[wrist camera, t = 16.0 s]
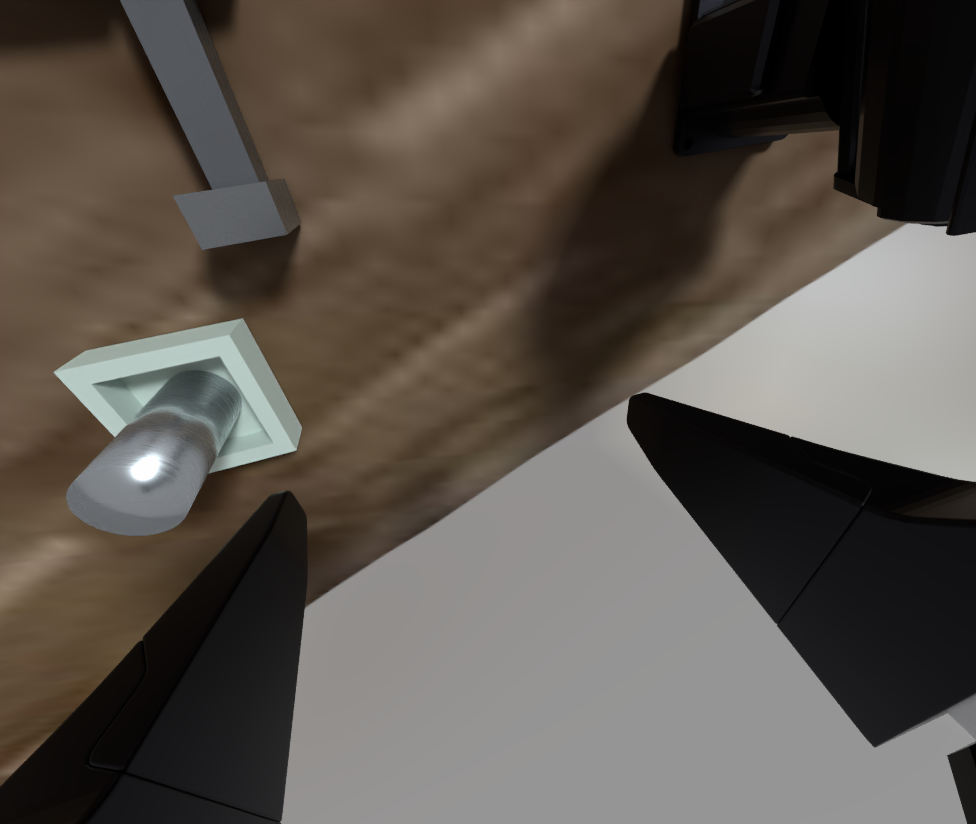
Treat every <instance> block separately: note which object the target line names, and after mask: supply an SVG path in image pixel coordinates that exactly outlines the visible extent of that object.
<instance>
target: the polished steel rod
mask: <svg viewBox="0 0 976 824" xmlns="http://www.w3.org/2000/svg"><path fill="white" fill-rule="evenodd" d="M241 409H242V399H241V396H240V394H239V392H238V390H237V389H236V388H235V387H234V385H233V384H231V383H230V382H229V381H228V380H226V379H224V378H223V377H221V376H219V375H216V374H214V373H211V372H206V371H199V370H191V371H184V372H181V373H178V374H176V375H174V376H172V377H171V378H170V379H169V380H168V381H167V382H166V383H165V384H164V385H163V386H162V387H161V389H160V390H159V391H158V392H157V393H156V394H155V395H154V396H153V397H152V398H151V399H150V400H149V401H148V402H147V404H146V405H145V406H144V407H143V408H142V409H141V410H140V411H139V412H138V413H137V414H136V415H135V416H134V417H133V419H132V420H131V421H130V422H129V423H128V424H127V425H126V426H125V427H124V428H123V429H122V430H121V431H120V432H119V434H118V435H117V436H116V437H115V438H114V439H113V440H112V441H111V442H110V443H109V444H108V445H107V446H106V447H105V449H104V450H103V451H102V452H101V453H100V454H99V455H98V456H97V457H96V458H95V459H94V460H93V461H92V462H91V464H90V465H89V466H88V467H87V468H86V469H85V470H84V471H83V472H82V473H81V474H80V475H79V476H78V477H77V479H76V480H75V481H74V482H73V483H72V484H71V485H70V487H69V489H68V491H67V495H66V499H67V503H68V506H69V508H70V509H71V511H72V512H73V513H74V514H75V515H76V516H77V517H78V518H79V519H81V520H82V521H83V522H85V523H87V524H89V525H90V526H93V527H95V528H97V529H100V530H103V531H106V532H110V533H114V534H120V535H130V536H143V535H152V534H158V533H162V532H165V531H168V530H170V529H172V528H174V527H176V526H177V525H178V524H180V523H181V522H182V521H183V520H184V519H185V517H186V515H187V514H188V512H189V510H190V508H191V506H192V504H193V502H194V500H195V498H196V496H197V494H198V492H199V490H200V489H201V487H202V485H203V483H204V481H205V479H206V477H207V475H208V473H209V471H210V469H211V467H212V465H213V463H214V462H215V460H216V458H217V456H218V454H219V452H220V450H221V448H222V446H223V444H224V442H225V440H226V438H227V437H228V435H229V433H230V431H231V429H232V427H233V425H234V423H235V421H236V419H237V417H238V415H239V413H240V411H241Z"/></svg>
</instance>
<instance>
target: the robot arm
mask: <svg viewBox="0 0 976 824" xmlns="http://www.w3.org/2000/svg"><path fill="white" fill-rule="evenodd" d="M835 130H839V146H838V168H837V172H836V173H835V174H834V187H833V188H834V189H835V190H837V191H840V192H842V193H844V194H847V195H849V196H851V197H854V198H856V199H859V200H861V201H863V202H866V203H868V204H870V205H872V206H874V207H877V216H878V217H880V218H883V219H886V220H891V221H897V222H903V223H914V224H915V223H917V224H922V225H932V226H947V230H946V234H947V235H952V236H955V235H962V234H967V233H973V232H976V0H694V1H693V9H692V16H691V23H690V30H689V36H688V43H687V50H686V57H685V64H684V72H683V79H682V86H681V93H680V100H679V109H678V116H677V123H676V130H675V138H674V145H673V151H674V153H675V155H677V156H690V155H696V154H702V153H708V152H713V151H719V150H725V149H731V148H737V147H742V146H748V145H754V144H760V143H765V142H771V141H777V140H781V139H784V138H785V137H786V136H787V135H788V134H795V133H809V132H822V131H835ZM686 139H687V145H686V147H685V148H683V144H684V141H685V140H686ZM627 424H628V427H629V429H630V431H631V433H632V434H633V436H634V437H635V439H636V440H637V442H638V444H639V445H640V447H641V448H642V450H643V452H644V453H645V455H646V457H647V458H648V460H649V461H650V463H651V465H652V466H653V468H654V469H655V470H656V472H657V473H658V474H659V476H660V477H661V479H662V480H663V481H664V482H665V484H666V485H667V486H668V488H669V489H670V490H671V491H672V492H673V494H674V495H675V496H676V498H677V499H678V500H679V501H680V503H681V504H682V505H683V507H684V508H685V509H686V510H687V512H688V513H689V514H690V515H691V517H692V518H693V519H694V520H695V522H696V523H697V524H698V526H699V527H700V528H701V529H702V531H703V532H704V533H705V535H706V536H707V537H708V538H709V540H710V541H711V542H712V543H713V545H714V546H715V547H716V549H717V550H718V551H719V552H720V554H721V555H722V556H723V557H724V559H725V560H726V561H727V562H728V564H729V565H730V566H731V567H732V568H733V570H734V571H735V573H736V574H737V575H738V576H739V578H740V579H741V580H742V582H743V583H744V584H745V585H746V586H747V588H748V589H749V590H750V592H751V593H752V594H753V596H754V597H755V598H756V599H757V601H758V602H759V603H760V604H761V606H762V607H763V608H764V609H765V611H766V612H767V613H768V615H769V616H770V617H771V618H772V619H773V621H774V622H775V623H776V624H777V626H778V628H779V629H780V630H781V631H782V633H783V634H784V635H785V637H786V638H787V639H788V640H789V641H790V643H791V644H792V645H793V647H794V648H795V649H796V650H797V652H798V653H799V654H800V655H801V657H802V658H803V659H804V661H805V662H806V663H807V664H808V666H809V667H810V668H811V670H812V671H813V672H814V673H815V675H816V676H817V677H818V678H819V680H820V681H821V682H822V683H823V685H824V686H825V687H826V689H827V690H828V691H829V692H830V693H831V695H832V696H833V697H834V699H835V700H836V701H837V703H838V704H839V705H840V706H841V707H842V709H843V710H844V711H845V713H846V714H847V715H848V717H849V718H850V719H851V720H852V722H853V723H854V724H855V725H856V727H857V728H858V729H859V730H860V732H861V733H862V734H863V735H864V737H865V738H866V739H867V740H868V741H869V742H870V743H871V744H872V746H873V747H878V746H880V745H882V744H884V743H886V742H888V741H890V740H892V739H894V738H897V737H899V736H901V735H903V734H905V733H907V732H909V731H911V730H913V729H915V728H918V727H919V726H922V725H924V724H926V723H928V722H930V721H932V720H934V719H936V718H938V717H940V716H943V715H944V714H947V713H948V714H949V715H950V716H951V717H952V718H953V719H954V720H955V721H956V722H958V723H959V724H960V725H961V726H962V727H963V728H964V729H965V730H966V731H967V732H968V733H969V734H970V735H971V736H972V737H973V738H974V739H976V482H971V481H964V480H957V479H953V478H949V477H944V476H940V475H936V474H932V473H928V472H923V471H920V470H916V469H912V468H908V467H903V466H900V465H896V464H892V463H887V462H883V461H880V460H876V459H871V458H867V457H864V456H860V455H856V454H852V453H848V452H844V451H841V450H837V449H833V448H830V447H826V446H823V445H819V444H815V443H812V442H809V441H806V440H802V439H799V438H795V437H789V436H788V435H786V434H782V433H779V432H776V431H772V430H769V429H766V428H762V427H759V426H756V425H752V424H749V423H746V422H742V421H739V420H736V419H732V418H729V417H726V416H722V415H719V414H716V413H712V412H709V411H706V410H702V409H699V408H696V407H692V406H689V405H686V404H682V403H679V402H676V401H673V400H669V399H666V398H663V397H659V396H656V395H653V394H649V393H640V394H637V395H633V396H631V397H630V399H629V405H628V413H627ZM307 576H308V563H307V518H306V514H305V512H304V510H303V509H302V507H301V506H300V504H299V502H298V501H297V499H296V498H295V496H294V495H293V493H292V492H290V491H282V492H279V493H275V494H272V495H270V496H269V497H268V498H267V499H266V500H265V501H264V502H263V504H262V505H261V506H260V507H259V508H258V509H257V510H256V511H255V512H254V514H253V515H252V516H251V517H250V518H249V519H248V520H247V521H246V523H245V524H244V525H243V526H242V527H241V528H240V529H239V530H238V531H237V533H236V534H235V535H234V536H233V537H232V538H231V539H230V540H229V542H228V543H227V544H226V545H225V546H224V547H223V548H222V549H221V550H220V552H219V553H218V554H217V555H216V556H215V557H214V558H213V559H212V560H211V562H210V563H209V564H208V565H207V566H206V567H205V568H204V569H203V571H202V572H201V573H200V574H199V575H198V576H197V577H196V578H195V579H194V581H193V582H192V583H191V584H190V585H189V586H188V587H187V588H186V590H185V591H184V592H183V593H182V594H181V595H180V596H179V597H178V598H177V600H176V601H175V602H174V603H173V604H172V605H171V606H170V607H169V608H168V610H167V611H166V612H165V613H164V614H163V615H162V616H161V617H160V618H159V620H158V621H157V622H156V623H155V624H154V625H153V626H152V627H151V629H150V630H149V631H148V632H147V633H146V634H145V635H144V636H143V641H139V642H138V643H137V644H136V645H135V646H134V647H133V648H132V650H131V651H130V652H129V653H128V654H127V655H126V656H125V657H124V659H123V660H122V661H121V662H120V663H119V664H118V665H117V666H116V667H115V668H114V669H113V671H112V672H111V673H110V674H109V675H108V676H107V677H106V678H105V679H104V680H103V681H102V682H101V684H100V685H99V686H98V687H97V688H96V689H95V690H94V691H93V692H92V693H91V694H90V695H89V696H88V698H87V699H86V700H85V701H84V702H83V703H82V704H81V705H80V706H79V707H78V708H77V709H76V710H75V711H74V712H73V713H72V714H71V715H70V716H69V717H68V718H67V719H66V720H65V721H64V722H63V723H62V724H61V725H60V726H59V727H58V728H57V730H56V731H55V732H54V733H53V734H52V735H51V736H50V737H49V738H48V739H47V740H46V741H45V742H44V743H43V744H42V745H41V746H40V747H39V748H38V749H37V750H36V751H35V752H34V753H33V754H32V755H31V756H30V757H29V758H28V759H27V760H26V761H25V762H24V763H23V764H22V765H21V766H20V767H19V768H18V769H17V770H16V771H15V772H14V773H13V774H12V775H11V776H10V777H9V778H8V779H7V780H6V781H5V782H4V783H3V784H2V785H1V786H0V824H281V823H280V821H281V820H282V813H283V804H284V794H285V784H286V776H287V766H288V757H289V748H290V739H291V730H292V720H293V710H294V701H295V692H296V683H297V674H298V665H299V655H300V646H301V637H302V628H303V618H304V609H305V600H306V591H307ZM947 756H948V760H949V763H950V766H951V770H952V773H953V776H954V780H955V783H956V787H957V790H958V794H959V797H960V801H961V804H962V807H963V811H964V814H965V818H966V820H967V824H976V741H975V742H973V743H971V744H969V745H967V746H965V747H963V748H961V749H959V750H957V751H955V752H953V753H951V754H949V755H947Z"/></svg>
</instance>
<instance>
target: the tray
mask: <svg viewBox="0 0 976 824" xmlns="http://www.w3.org/2000/svg"><path fill="white" fill-rule="evenodd" d="M191 370H199V371H206V372H211V373H214V374H216V375H219V376H221V377H223V378H224V379H226V380H228V381H229V382H230V383H231V384H233V385H234V387H235V388H236V389H237V390H238V392H239V394H240V396H241V399H242V409H241V411H240V413H239V415H238V417H237V419H236V421H235V423H234V425H233V427H232V429H231V431H230V433H229V435H228V437H227V438H226V440H225V442H224V444H223V446H222V448H221V450H220V452H219V454H218V456H217V458H216V460H215V462H214V463H213V465H212V467H211V469H210V471H209V473H212V472H216V471H220V470H224V469H228V468H231V467H235V466H239V465H243V464H247V463H251V462H255V461H258V460H262V459H266V458H270V457H274V456H278V455H281V454H285V453H289V452H293V451H296V450H297V446H298V443H299V439H300V435H301V431H302V426H301V425H300V423H299V421H298V419H297V417H296V415H295V414H294V412H293V410H292V408H291V406H290V404H289V403H288V401H287V399H286V397H285V395H284V393H283V391H282V390H281V388H280V386H279V384H278V382H277V380H276V379H275V377H274V375H273V373H272V371H271V369H270V367H269V366H268V364H267V362H266V360H265V358H264V356H263V355H262V353H261V351H260V349H259V347H258V345H257V344H256V342H255V340H254V338H253V336H252V334H251V332H250V331H249V329H248V327H247V325H246V323H245V321H244V320H243V318H242V319H237V320H233V321H228V322H223V323H218V324H213V325H208V326H203V327H199V328H194V329H189V330H184V331H179V332H174V333H169V334H164V335H160V336H155V337H150V338H145V339H140V340H135V341H130V342H125V343H121V344H116V345H111V346H106V347H101V348H96V349H91V350H86V351H85V352H83V353H82V354H80V355H79V356H77V357H75V358H74V359H72V360H71V361H69V362H68V363H66V364H65V365H63V366H62V367H60V368H59V369H57V370H56V371H54V373H55V374H56V375H57V376H58V378H59V379H60V380H61V381H62V382H63V383H64V384H65V385H66V386H67V387H68V388H69V389H70V390H71V391H72V392H73V393H74V394H75V396H76V397H77V398H78V399H79V400H80V401H81V402H82V403H83V404H84V405H85V406H86V407H87V408H88V409H89V410H90V411H91V412H92V413H93V415H94V416H95V417H96V418H97V419H98V420H99V421H100V422H101V423H102V424H103V425H104V426H105V427H106V428H107V429H108V430H109V431H110V433H111V434H112V435H113V436H114V437H116V436H117V435H118V434H119V432H120V431H121V430H122V429H123V428H124V427H125V426H126V425H127V424H128V423H129V422H130V421H131V420H132V419H133V417H134V416H135V415H136V414H137V413H138V412H139V411H140V410H141V409H142V408H143V407H144V406H145V405H146V404H147V402H148V401H149V400H150V399H151V398H152V397H153V396H154V395H155V394H156V393H157V392H158V391H159V390H160V389H161V387H162V386H163V385H164V384H165V383H166V382H167V381H168V380H169V379H170V378H171V377H172V376H174V375H176V374H178V373H181V372H184V371H191Z"/></svg>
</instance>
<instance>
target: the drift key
mask: <svg viewBox="0 0 976 824" xmlns="http://www.w3.org/2000/svg"><path fill="white" fill-rule="evenodd" d="M120 1H121V3H122V5H123V7H124V9H125V12H126V14H127V16H128V18H129V20H130V22H131V24H132V26H133V28H134V30H135V32H136V34H137V36H138V38H139V40H140V42H141V44H142V46H143V48H144V50H145V52H146V55H147V57H148V59H149V61H150V63H151V65H152V67H153V69H154V71H155V73H156V75H157V77H158V79H159V81H160V83H161V85H162V87H163V89H164V91H165V93H166V96H167V98H168V100H169V102H170V104H171V106H172V108H173V110H174V112H175V114H176V116H177V118H178V120H179V122H180V124H181V126H182V128H183V130H184V132H185V134H186V137H187V139H188V141H189V143H190V145H191V147H192V149H193V151H194V153H195V155H196V157H197V159H198V161H199V163H200V165H201V167H202V169H203V171H204V173H205V175H206V178H207V180H208V182H209V184H210V186H211V188H212V190H207V191H201V192H194V193H188V194H182V195H175V196H173V197H174V199H175V201H176V203H177V205H178V206H179V208H180V210H181V212H182V214H183V216H184V217H185V219H186V221H187V223H188V225H189V227H190V228H191V230H192V232H193V234H194V236H195V237H196V239H197V241H198V243H199V245H200V247H201V248H202V250H204V249H210V248H215V247H221V246H227V245H232V244H238V243H243V242H249V241H255V240H260V239H266V238H272V237H277V236H283V235H288V234H289V233H290V232H291V231H292V230H293V229H295V228H296V227H297V226H298V225H299V224H301V220H300V218H299V215H298V212H297V210H296V207H295V205H294V202H293V199H292V197H291V194H290V191H289V189H288V186H287V184H286V181H285V179H278V180H272V181H269V180H268V177H267V175H266V172H265V170H264V168H263V165H262V163H261V160H260V158H259V155H258V153H257V150H256V148H255V145H254V143H253V140H252V138H251V135H250V133H249V131H248V128H247V126H246V123H245V121H244V118H243V116H242V113H241V111H240V108H239V106H238V103H237V101H236V98H235V96H234V94H233V91H232V89H231V86H230V84H229V81H228V79H227V76H226V74H225V71H224V69H223V66H222V64H221V61H220V59H219V56H218V54H217V52H216V49H215V47H214V44H213V42H212V39H211V37H210V34H209V32H208V29H207V27H206V24H205V22H204V19H203V17H202V15H201V12H200V10H199V7H198V5H197V2H196V0H120Z"/></svg>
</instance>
